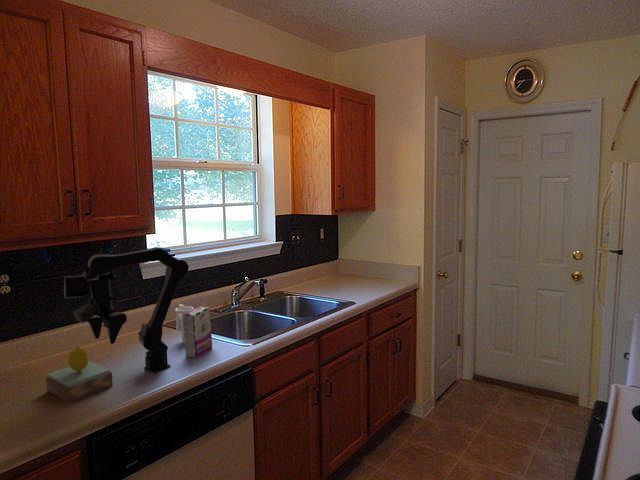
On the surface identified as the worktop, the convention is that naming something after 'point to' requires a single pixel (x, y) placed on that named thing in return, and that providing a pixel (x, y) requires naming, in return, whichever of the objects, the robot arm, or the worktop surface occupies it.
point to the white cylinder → (181, 318)
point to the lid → (78, 374)
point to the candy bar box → (197, 332)
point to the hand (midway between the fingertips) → (104, 341)
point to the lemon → (78, 359)
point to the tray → (78, 388)
